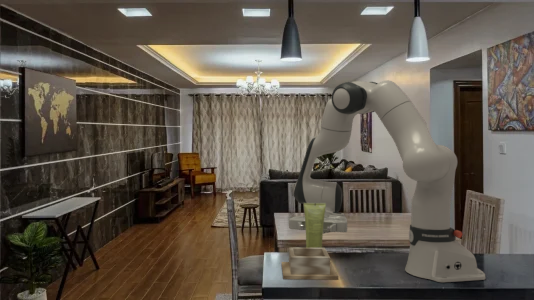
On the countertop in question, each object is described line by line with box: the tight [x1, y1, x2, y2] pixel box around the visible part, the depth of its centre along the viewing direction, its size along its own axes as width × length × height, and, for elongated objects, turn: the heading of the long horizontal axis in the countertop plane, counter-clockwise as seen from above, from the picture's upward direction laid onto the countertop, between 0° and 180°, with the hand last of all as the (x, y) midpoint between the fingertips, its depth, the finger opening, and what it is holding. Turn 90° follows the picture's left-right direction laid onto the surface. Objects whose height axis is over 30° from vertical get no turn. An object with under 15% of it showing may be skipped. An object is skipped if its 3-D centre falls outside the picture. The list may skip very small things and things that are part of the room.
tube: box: [303, 203, 326, 248], centre depth 142 cm, size 6×5×20 cm
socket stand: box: [281, 246, 339, 281], centre depth 131 cm, size 16×14×6 cm
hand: (315, 228), depth 142 cm, fingers open, 8 cm apart
